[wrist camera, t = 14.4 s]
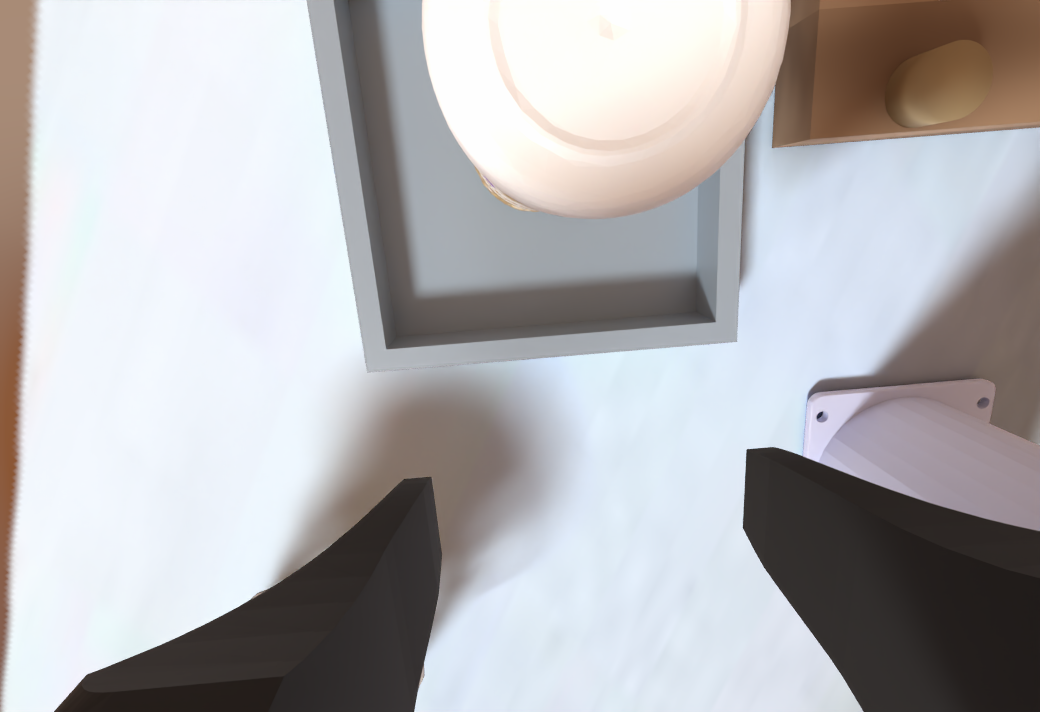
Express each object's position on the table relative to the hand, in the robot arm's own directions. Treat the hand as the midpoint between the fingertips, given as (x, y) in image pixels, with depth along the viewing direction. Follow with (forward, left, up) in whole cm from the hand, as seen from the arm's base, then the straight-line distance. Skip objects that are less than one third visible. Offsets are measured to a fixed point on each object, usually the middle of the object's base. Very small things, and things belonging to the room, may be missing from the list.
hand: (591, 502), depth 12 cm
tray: (+8, 0, -10) cm, 13 cm away
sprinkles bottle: (+9, 0, -10) cm, 13 cm away
